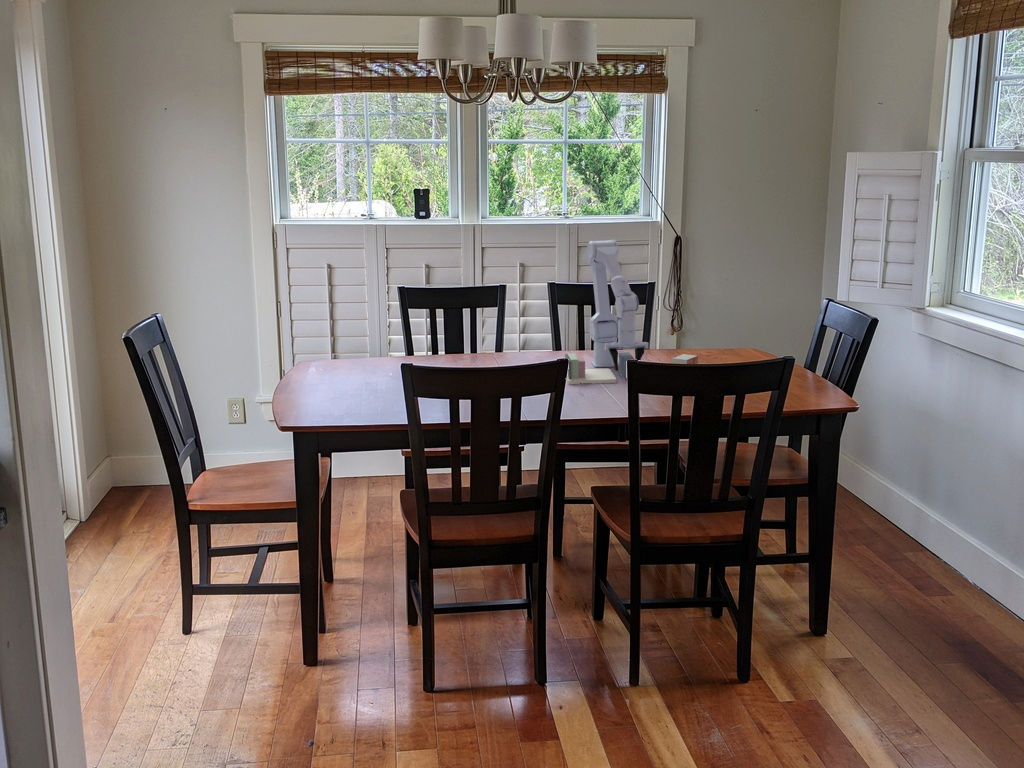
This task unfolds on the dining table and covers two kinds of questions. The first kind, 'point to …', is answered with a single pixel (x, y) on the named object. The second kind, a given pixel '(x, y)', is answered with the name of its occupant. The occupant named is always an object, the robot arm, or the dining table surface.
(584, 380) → the shelf board
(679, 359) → the small box
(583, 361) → the books
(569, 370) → the bookend
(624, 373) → the slate book
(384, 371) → the dining table surface
